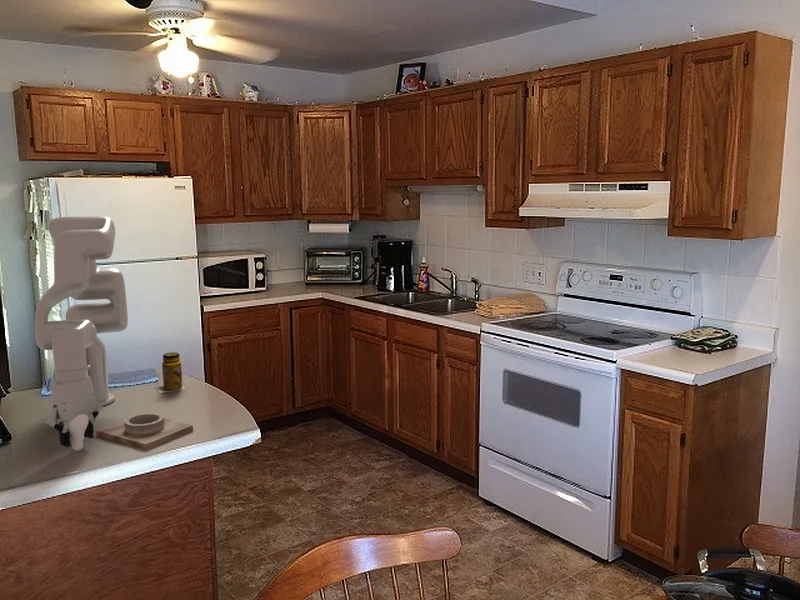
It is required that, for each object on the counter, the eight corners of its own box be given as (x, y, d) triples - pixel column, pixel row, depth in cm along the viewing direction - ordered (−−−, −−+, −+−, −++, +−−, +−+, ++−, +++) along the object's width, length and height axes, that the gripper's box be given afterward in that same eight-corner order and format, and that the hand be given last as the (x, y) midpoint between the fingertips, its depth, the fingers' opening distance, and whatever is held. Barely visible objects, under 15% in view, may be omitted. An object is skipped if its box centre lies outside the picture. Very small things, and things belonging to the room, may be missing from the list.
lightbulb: (59, 454, 172) (55, 413, 170) (75, 445, 178) (71, 405, 176) (81, 455, 171) (77, 414, 169) (96, 446, 177) (92, 406, 175)
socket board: (96, 435, 184) (95, 421, 184) (144, 418, 198) (143, 405, 197) (146, 449, 174) (145, 435, 174) (193, 430, 188) (192, 416, 187)
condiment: (186, 389, 226) (184, 354, 223) (160, 393, 221) (157, 358, 219) (180, 384, 232) (178, 350, 229) (154, 388, 227) (152, 353, 225)
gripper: (92, 364, 180) (97, 428, 183) (29, 380, 165) (36, 450, 168) (110, 368, 176) (115, 433, 179) (48, 385, 161) (55, 456, 164)
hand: (77, 441), depth 174 cm, fingers open, 5 cm apart
